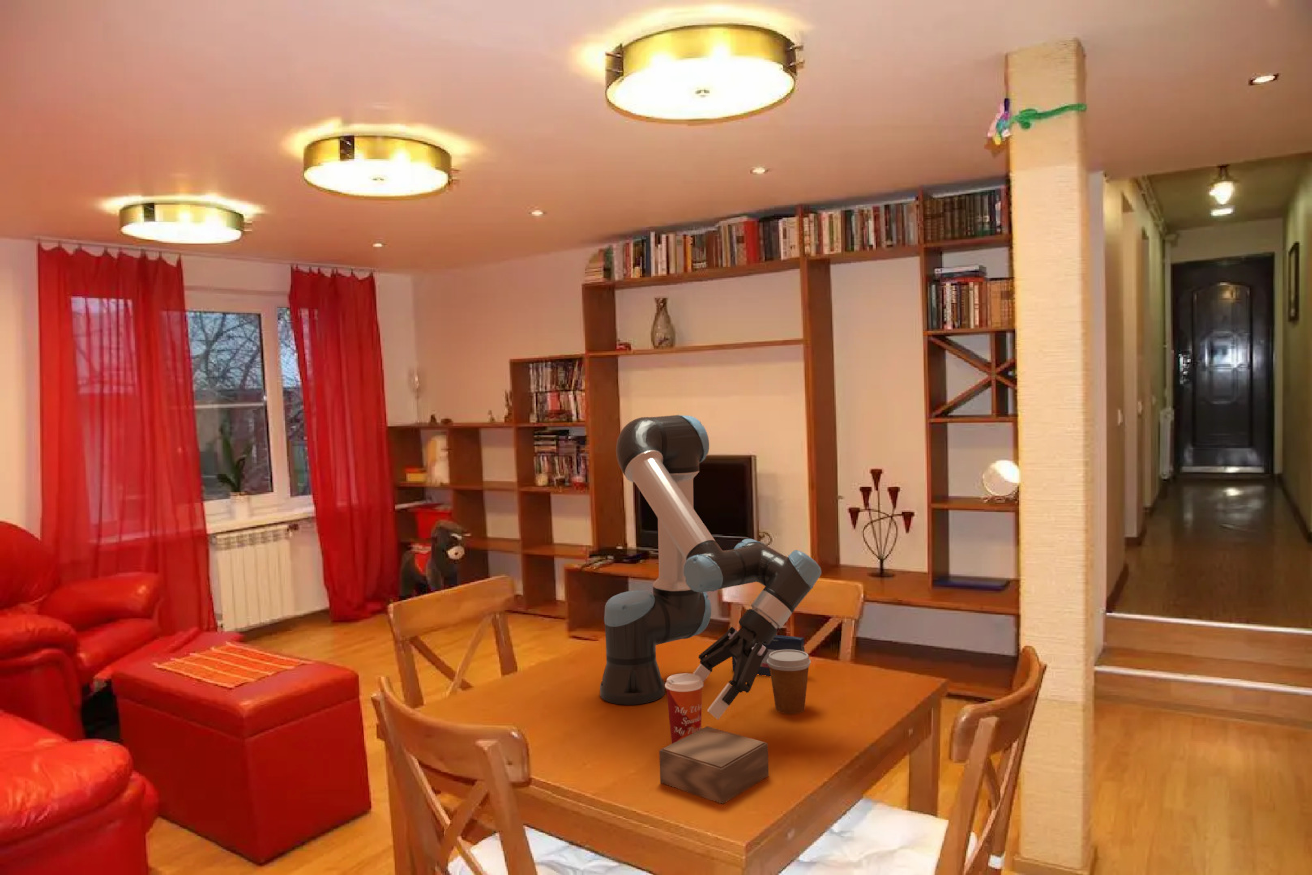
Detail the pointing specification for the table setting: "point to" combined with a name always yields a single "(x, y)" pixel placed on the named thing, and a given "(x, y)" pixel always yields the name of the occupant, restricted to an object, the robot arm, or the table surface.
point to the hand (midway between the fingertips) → (698, 704)
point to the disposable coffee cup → (789, 679)
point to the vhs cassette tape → (776, 644)
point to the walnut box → (714, 764)
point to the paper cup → (684, 704)
